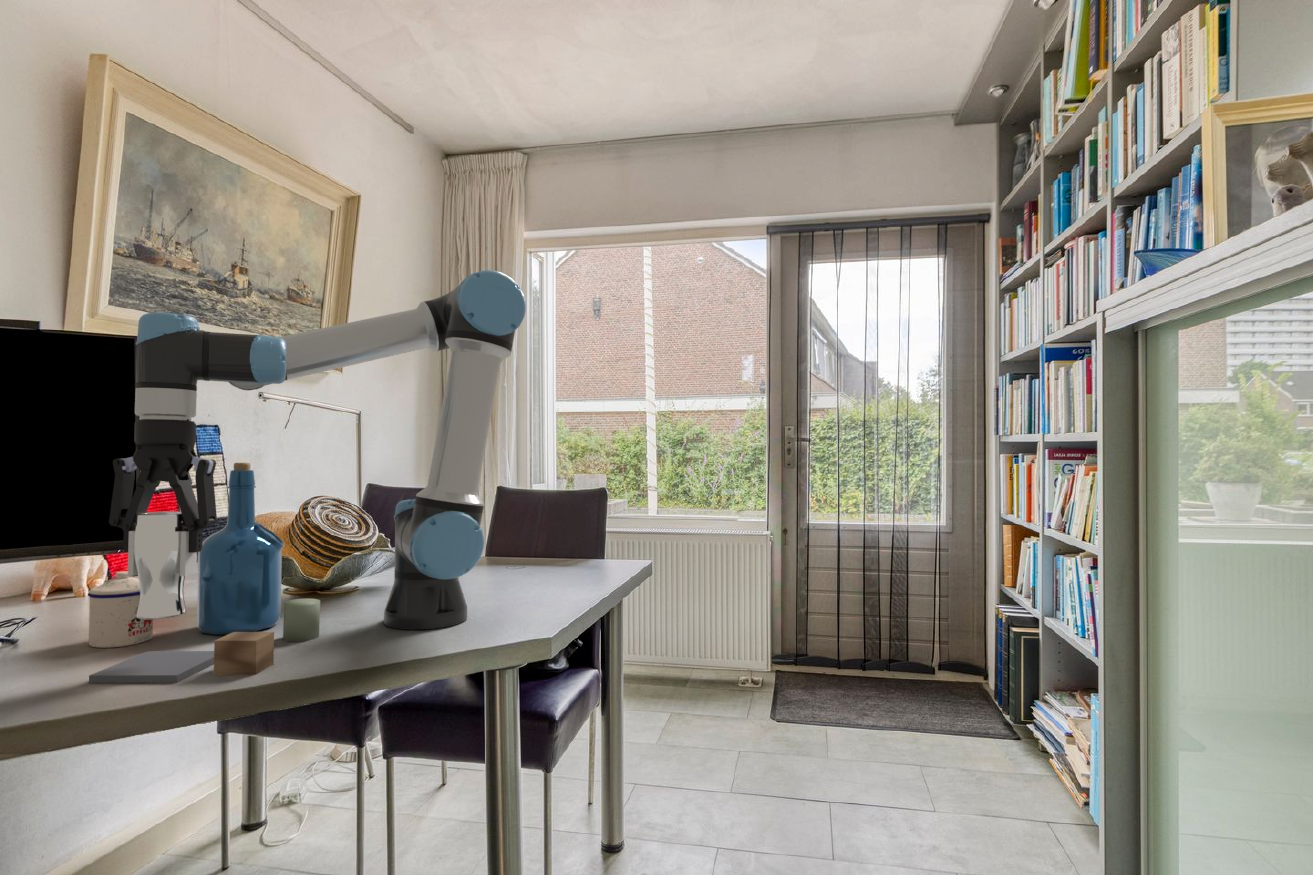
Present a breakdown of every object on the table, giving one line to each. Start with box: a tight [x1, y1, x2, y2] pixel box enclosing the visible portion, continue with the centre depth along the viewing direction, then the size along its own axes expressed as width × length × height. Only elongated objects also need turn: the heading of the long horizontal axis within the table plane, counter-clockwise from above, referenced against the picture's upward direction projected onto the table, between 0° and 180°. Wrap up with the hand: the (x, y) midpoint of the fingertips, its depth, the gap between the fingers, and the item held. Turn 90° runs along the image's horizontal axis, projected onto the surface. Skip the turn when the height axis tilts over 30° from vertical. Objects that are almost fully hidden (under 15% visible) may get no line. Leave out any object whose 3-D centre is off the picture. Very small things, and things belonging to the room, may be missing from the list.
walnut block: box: [213, 631, 275, 676], centre depth 106 cm, size 6×5×5 cm
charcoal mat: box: [88, 650, 214, 684], centre depth 105 cm, size 12×12×1 cm
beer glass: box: [134, 510, 187, 620], centre depth 106 cm, size 7×7×15 cm
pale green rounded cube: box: [282, 597, 321, 643], centre depth 124 cm, size 6×6×6 cm
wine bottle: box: [196, 462, 285, 636], centre depth 131 cm, size 14×13×30 cm
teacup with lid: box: [87, 570, 154, 649], centre depth 122 cm, size 12×9×12 cm
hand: (162, 574), depth 106 cm, fingers closed on beer glass, 7 cm apart
